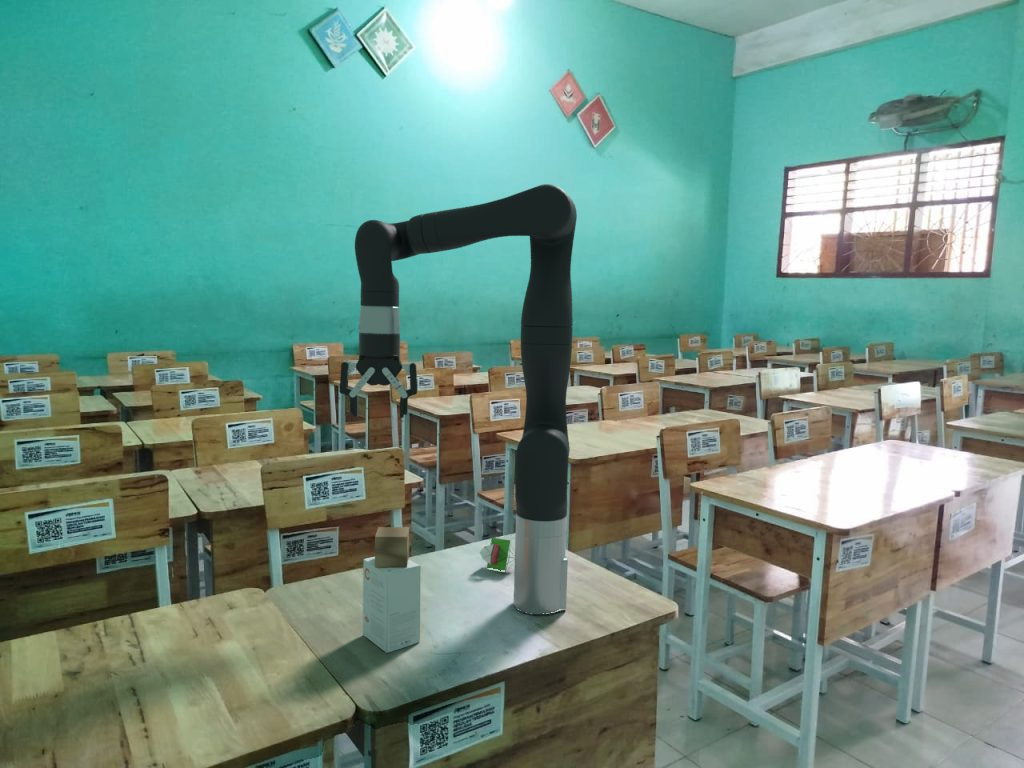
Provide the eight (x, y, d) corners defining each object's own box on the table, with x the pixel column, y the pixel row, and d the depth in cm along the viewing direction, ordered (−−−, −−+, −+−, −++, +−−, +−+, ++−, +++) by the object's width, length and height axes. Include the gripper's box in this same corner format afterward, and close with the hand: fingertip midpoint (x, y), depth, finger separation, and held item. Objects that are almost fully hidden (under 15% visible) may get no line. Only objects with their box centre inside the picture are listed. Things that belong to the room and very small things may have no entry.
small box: (420, 642, 114) (421, 565, 113) (386, 654, 110) (386, 573, 109) (395, 624, 121) (396, 550, 119) (361, 635, 117) (361, 558, 115)
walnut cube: (408, 556, 117) (409, 527, 116) (406, 567, 112) (407, 536, 111) (378, 556, 116) (378, 527, 116) (374, 567, 111) (375, 536, 111)
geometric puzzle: (494, 550, 153) (484, 527, 148) (523, 554, 150) (515, 531, 145) (482, 578, 148) (472, 555, 143) (512, 583, 146) (503, 560, 141)
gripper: (418, 331, 136) (417, 414, 138) (343, 329, 134) (342, 413, 136) (417, 332, 129) (416, 420, 130) (337, 330, 127) (337, 419, 129)
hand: (378, 417), depth 133 cm, fingers open, 8 cm apart
